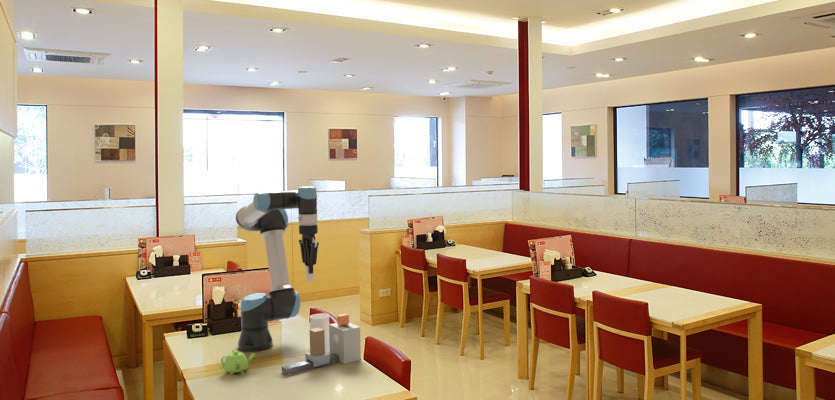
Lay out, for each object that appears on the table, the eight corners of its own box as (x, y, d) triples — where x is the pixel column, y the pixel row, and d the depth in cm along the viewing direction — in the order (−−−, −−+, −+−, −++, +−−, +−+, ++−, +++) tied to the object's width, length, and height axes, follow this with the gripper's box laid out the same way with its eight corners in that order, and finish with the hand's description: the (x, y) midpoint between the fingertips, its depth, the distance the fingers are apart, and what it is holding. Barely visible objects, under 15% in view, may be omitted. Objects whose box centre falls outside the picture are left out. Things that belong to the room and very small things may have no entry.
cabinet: (328, 356, 248) (328, 324, 247) (345, 352, 253) (345, 320, 252) (343, 364, 238) (342, 330, 237) (360, 359, 244) (360, 326, 243)
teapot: (215, 374, 229) (214, 353, 228) (234, 364, 240) (234, 345, 239) (238, 378, 225) (237, 357, 224) (257, 368, 235) (256, 348, 235)
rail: (282, 372, 230) (281, 366, 230) (334, 358, 245) (334, 353, 245) (286, 375, 227) (286, 369, 227) (339, 361, 242) (339, 355, 242)
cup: (326, 355, 250) (325, 319, 248) (308, 354, 251) (307, 318, 250) (332, 349, 258) (331, 313, 256) (315, 348, 259) (314, 313, 258)
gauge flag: (337, 324, 245) (337, 315, 245) (346, 322, 248) (345, 313, 247) (340, 325, 243) (339, 316, 243) (349, 323, 246) (348, 314, 246)
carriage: (305, 361, 239) (304, 329, 238) (320, 358, 243) (319, 325, 242) (314, 367, 232) (313, 333, 231) (330, 363, 237) (329, 330, 236)
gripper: (292, 223, 240) (294, 279, 242) (307, 226, 230) (309, 284, 232) (308, 222, 245) (310, 277, 246) (324, 224, 234) (325, 282, 236)
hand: (309, 280), depth 239 cm, fingers closed
